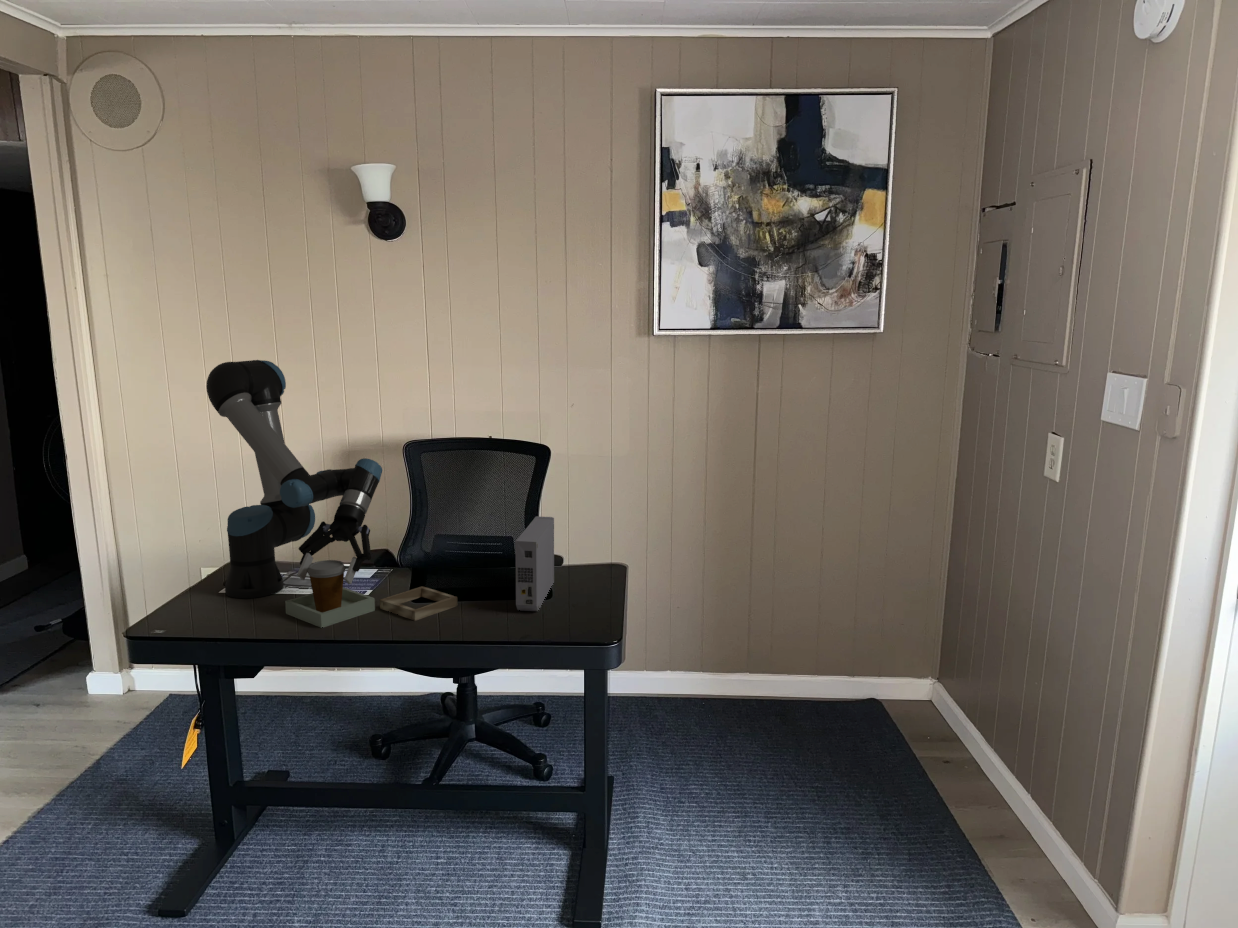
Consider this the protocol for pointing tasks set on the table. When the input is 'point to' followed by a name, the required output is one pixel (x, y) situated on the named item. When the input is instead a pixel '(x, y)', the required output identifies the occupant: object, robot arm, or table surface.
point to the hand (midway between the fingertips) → (323, 579)
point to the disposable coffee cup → (327, 584)
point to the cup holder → (442, 604)
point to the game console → (534, 563)
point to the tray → (350, 608)
